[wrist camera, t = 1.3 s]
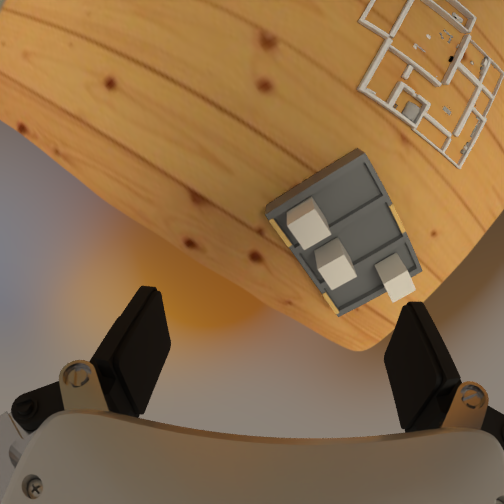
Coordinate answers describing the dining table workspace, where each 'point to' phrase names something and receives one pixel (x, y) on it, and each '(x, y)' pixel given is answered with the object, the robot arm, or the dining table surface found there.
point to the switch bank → (348, 227)
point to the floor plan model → (412, 111)
